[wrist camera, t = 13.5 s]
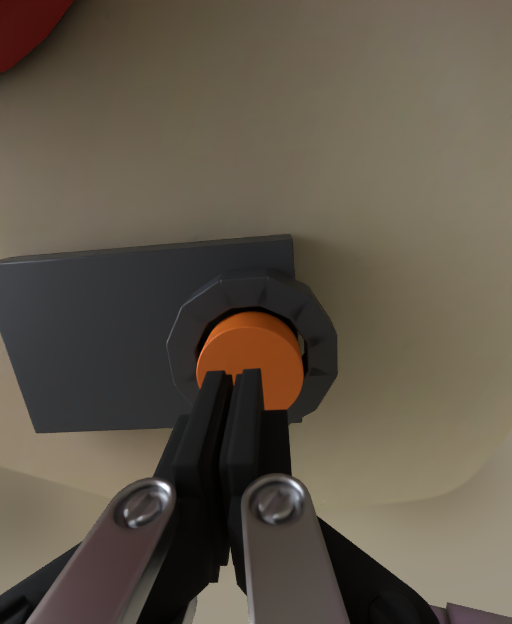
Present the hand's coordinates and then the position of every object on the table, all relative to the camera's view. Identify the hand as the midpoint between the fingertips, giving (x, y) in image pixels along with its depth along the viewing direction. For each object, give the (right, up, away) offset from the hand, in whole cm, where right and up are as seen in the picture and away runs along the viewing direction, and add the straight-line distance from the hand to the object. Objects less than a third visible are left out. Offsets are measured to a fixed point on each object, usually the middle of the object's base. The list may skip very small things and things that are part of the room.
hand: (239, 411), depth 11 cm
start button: (0, +1, +4) cm, 4 cm away
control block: (-4, +2, +7) cm, 9 cm away
